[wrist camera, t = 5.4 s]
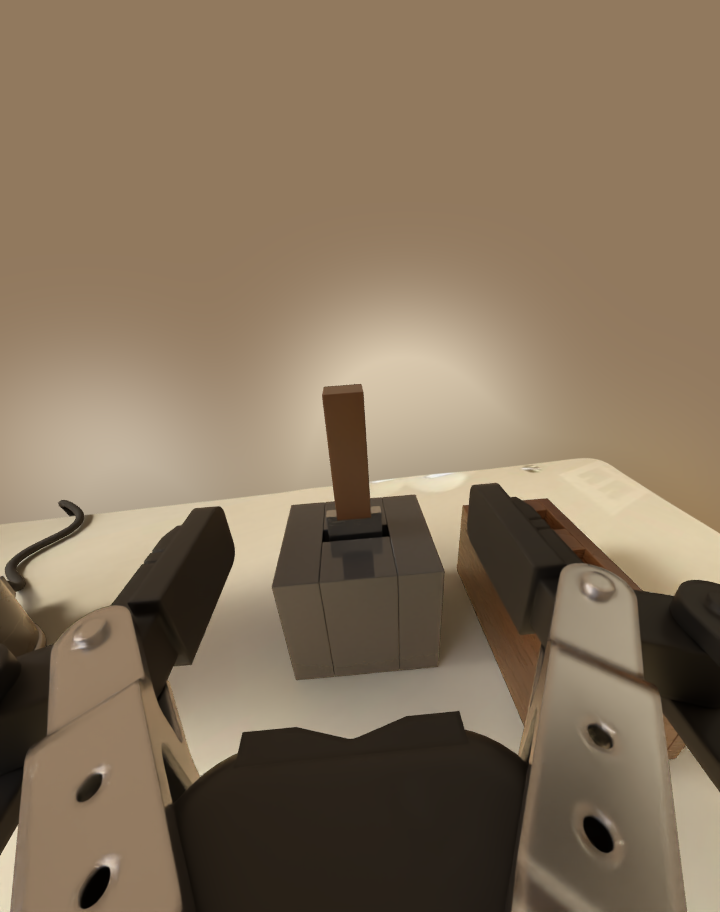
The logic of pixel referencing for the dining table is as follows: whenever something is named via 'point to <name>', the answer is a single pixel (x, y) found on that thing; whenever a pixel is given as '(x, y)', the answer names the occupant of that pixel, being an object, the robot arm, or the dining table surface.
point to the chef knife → (349, 466)
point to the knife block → (359, 593)
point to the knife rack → (505, 642)
